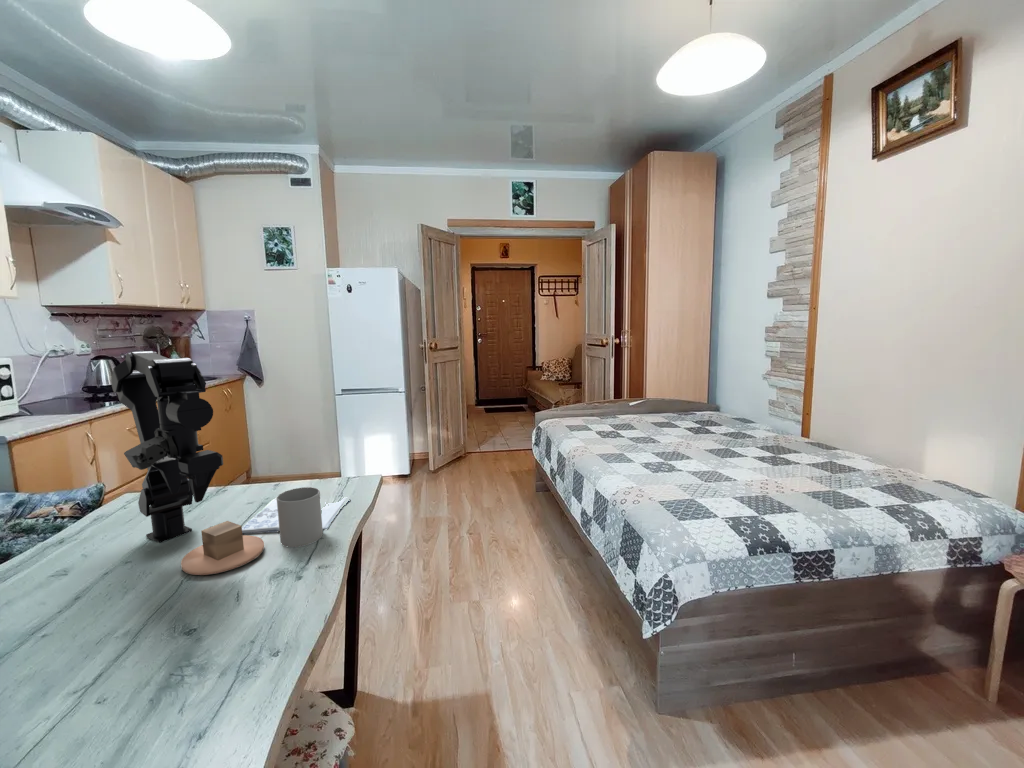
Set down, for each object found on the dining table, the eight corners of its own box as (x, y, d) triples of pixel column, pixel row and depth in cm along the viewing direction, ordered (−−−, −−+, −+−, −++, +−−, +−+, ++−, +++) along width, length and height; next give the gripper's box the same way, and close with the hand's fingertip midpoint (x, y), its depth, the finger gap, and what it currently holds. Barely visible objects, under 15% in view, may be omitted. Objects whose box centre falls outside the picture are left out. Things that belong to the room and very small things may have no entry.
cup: (305, 549, 93) (302, 503, 92) (271, 545, 95) (267, 500, 94) (330, 530, 101) (327, 488, 100) (298, 527, 103) (295, 486, 102)
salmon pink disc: (167, 566, 87) (166, 559, 87) (239, 536, 99) (239, 530, 99) (206, 585, 80) (205, 578, 80) (279, 551, 92) (278, 544, 92)
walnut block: (203, 554, 89) (201, 530, 88) (229, 543, 93) (227, 520, 92) (217, 560, 86) (215, 536, 86) (243, 549, 91) (241, 525, 90)
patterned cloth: (275, 503, 119) (274, 495, 118) (352, 501, 120) (352, 493, 119) (235, 537, 100) (234, 528, 99) (328, 534, 101) (327, 525, 101)
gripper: (105, 425, 86) (116, 503, 88) (152, 436, 77) (163, 522, 79) (172, 414, 95) (180, 485, 97) (220, 423, 86) (228, 500, 88)
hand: (186, 497), depth 90 cm, fingers open, 9 cm apart
